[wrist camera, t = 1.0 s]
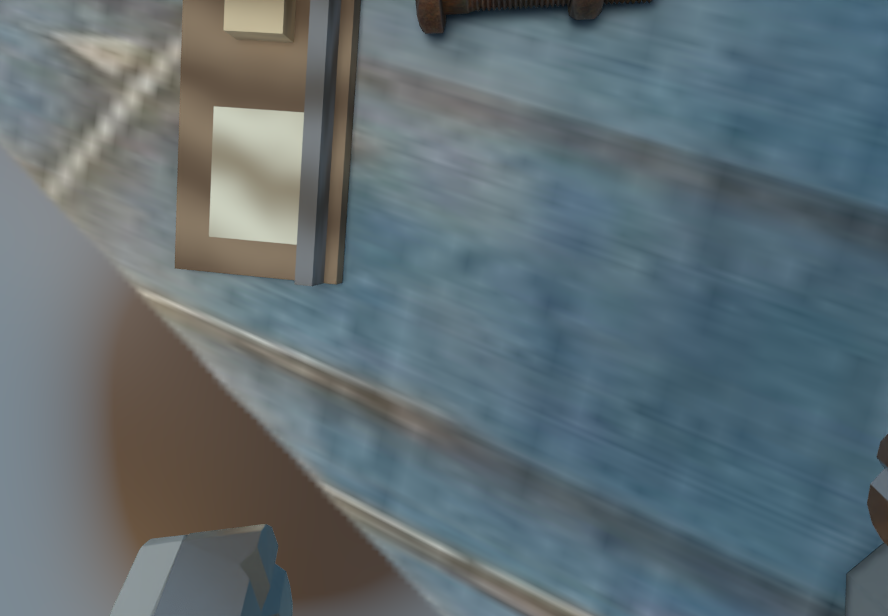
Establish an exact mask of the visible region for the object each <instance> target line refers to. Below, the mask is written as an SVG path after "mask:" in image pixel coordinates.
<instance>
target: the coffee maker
mask: <svg viewBox="0 0 888 616" xmlns="http://www.w3.org/2000/svg"><path fill="white" fill-rule="evenodd" d="M845 616H888V546H887V545H886V544H885V543H883V544H882V545H881V546H880V547H878V548H877V549H876V550H875V551H874V552H872V553H871V554H870V555H869V556H868V557H866V558H865V559H864V560H863V561H862V562H860V563H859V564H858V565H857V566H855V567H854V568H853V569H852V570H851V571H849V572H848V573H847V577H846V606H845Z"/></svg>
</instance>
